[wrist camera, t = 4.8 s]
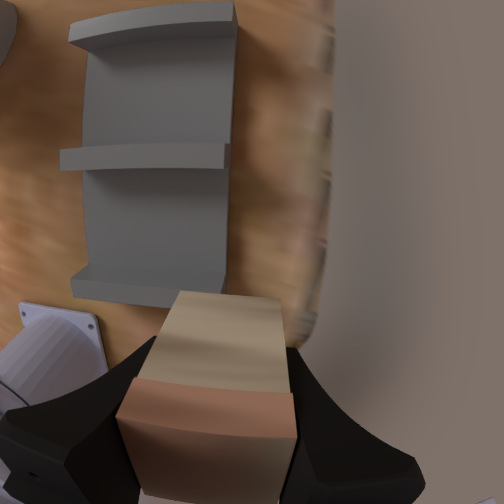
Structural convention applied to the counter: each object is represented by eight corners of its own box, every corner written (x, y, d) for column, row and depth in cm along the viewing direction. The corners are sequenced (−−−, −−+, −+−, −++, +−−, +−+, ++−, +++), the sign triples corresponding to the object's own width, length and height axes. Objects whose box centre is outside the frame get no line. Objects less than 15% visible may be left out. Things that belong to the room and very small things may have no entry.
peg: (271, 375, 14) (275, 509, 7) (183, 367, 14) (144, 494, 7) (281, 297, 13) (297, 437, 6) (179, 289, 13) (115, 416, 6)
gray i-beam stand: (226, 285, 20) (220, 312, 17) (97, 274, 20) (73, 297, 17) (238, 24, 15) (233, 1, 12) (98, 38, 15) (71, 23, 12)
